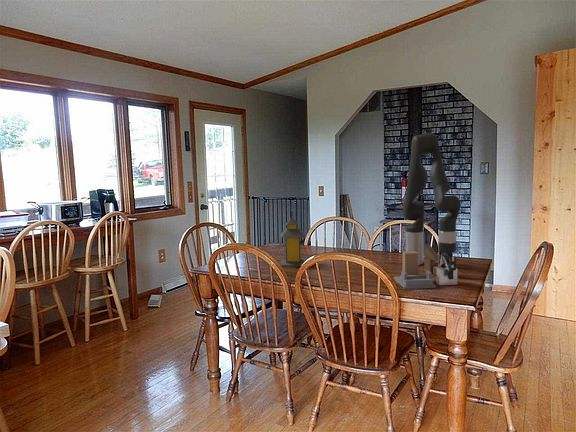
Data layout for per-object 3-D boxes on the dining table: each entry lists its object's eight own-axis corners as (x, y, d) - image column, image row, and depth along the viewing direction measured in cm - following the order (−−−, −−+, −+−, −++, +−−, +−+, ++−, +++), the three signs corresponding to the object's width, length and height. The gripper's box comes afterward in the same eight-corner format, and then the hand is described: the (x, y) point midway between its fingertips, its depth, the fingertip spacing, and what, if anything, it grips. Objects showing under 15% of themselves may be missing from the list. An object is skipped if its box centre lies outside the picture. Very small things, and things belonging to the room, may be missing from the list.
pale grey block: (436, 283, 200) (436, 267, 199) (454, 282, 200) (454, 267, 199) (439, 285, 196) (439, 269, 196) (457, 284, 197) (457, 269, 196)
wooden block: (428, 271, 220) (428, 235, 218) (447, 275, 212) (448, 238, 210) (423, 272, 218) (424, 236, 216) (443, 276, 210) (443, 239, 208)
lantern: (280, 266, 240) (278, 211, 236) (280, 261, 254) (279, 209, 250) (306, 266, 240) (305, 210, 236) (305, 260, 254) (303, 208, 250)
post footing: (393, 278, 209) (393, 251, 207) (423, 277, 209) (423, 250, 207) (403, 289, 192) (403, 259, 190) (435, 287, 192) (436, 258, 191)
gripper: (433, 238, 203) (432, 273, 205) (444, 244, 189) (444, 281, 191) (449, 237, 203) (449, 272, 205) (462, 243, 189) (461, 280, 191)
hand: (446, 276), depth 198 cm, fingers open, 8 cm apart
